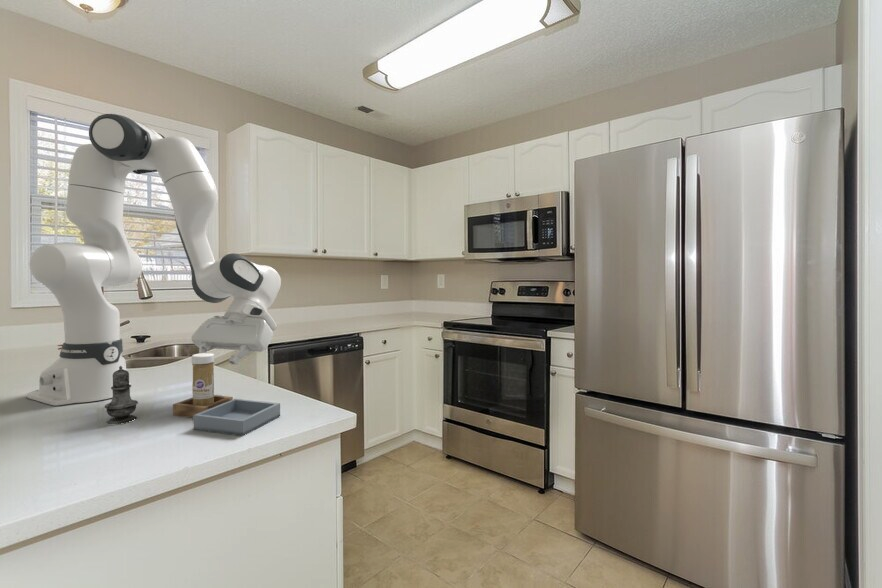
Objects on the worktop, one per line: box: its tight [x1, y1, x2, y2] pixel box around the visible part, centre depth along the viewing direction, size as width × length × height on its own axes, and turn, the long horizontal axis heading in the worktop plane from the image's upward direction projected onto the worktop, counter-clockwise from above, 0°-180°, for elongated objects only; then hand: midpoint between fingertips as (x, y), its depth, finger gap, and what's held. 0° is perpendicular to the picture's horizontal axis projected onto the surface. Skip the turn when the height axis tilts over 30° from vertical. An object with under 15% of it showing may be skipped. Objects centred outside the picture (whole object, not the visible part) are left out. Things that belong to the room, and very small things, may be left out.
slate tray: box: [193, 398, 281, 436], centre depth 92 cm, size 12×12×3 cm
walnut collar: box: [172, 394, 234, 419], centre depth 99 cm, size 9×9×2 cm
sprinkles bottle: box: [191, 352, 215, 406], centre depth 98 cm, size 5×5×13 cm
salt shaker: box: [103, 366, 139, 425], centre depth 92 cm, size 6×6×12 cm
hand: (216, 362), depth 102 cm, fingers open, 8 cm apart
